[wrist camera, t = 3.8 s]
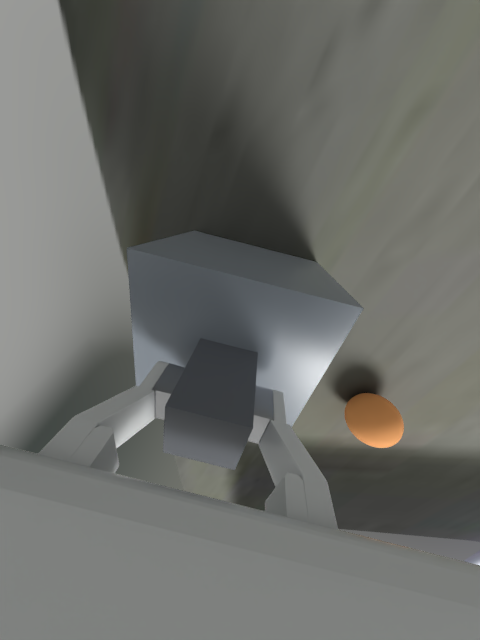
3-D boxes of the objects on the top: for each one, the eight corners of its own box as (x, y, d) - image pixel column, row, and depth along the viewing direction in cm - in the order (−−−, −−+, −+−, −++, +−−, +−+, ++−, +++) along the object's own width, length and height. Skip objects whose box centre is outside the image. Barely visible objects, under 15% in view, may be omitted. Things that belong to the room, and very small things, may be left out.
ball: (396, 389, 21) (430, 435, 17) (371, 417, 24) (394, 463, 19) (351, 378, 21) (373, 421, 17) (330, 406, 24) (345, 451, 19)
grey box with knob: (316, 261, 16) (435, 379, 5) (277, 356, 21) (289, 521, 10) (194, 230, 16) (21, 274, 5) (184, 332, 21) (90, 471, 10)
